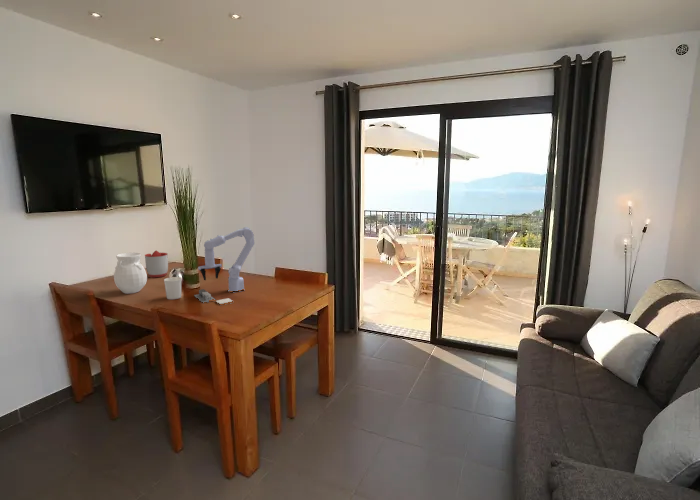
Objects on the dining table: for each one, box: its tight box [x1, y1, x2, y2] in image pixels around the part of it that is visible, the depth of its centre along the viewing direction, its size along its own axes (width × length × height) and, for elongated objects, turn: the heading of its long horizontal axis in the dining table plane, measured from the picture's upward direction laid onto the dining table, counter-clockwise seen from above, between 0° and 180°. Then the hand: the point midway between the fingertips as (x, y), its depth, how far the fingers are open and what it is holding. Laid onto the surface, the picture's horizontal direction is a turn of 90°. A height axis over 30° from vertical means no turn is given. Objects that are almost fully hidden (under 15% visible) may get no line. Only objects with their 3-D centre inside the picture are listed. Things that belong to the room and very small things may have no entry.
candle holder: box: [163, 276, 182, 300], centre depth 228 cm, size 10×10×12 cm
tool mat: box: [193, 293, 216, 304], centre depth 228 cm, size 8×18×1 cm, turn 39°
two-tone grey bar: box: [198, 288, 212, 301], centre depth 228 cm, size 3×14×4 cm, turn 38°
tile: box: [215, 297, 233, 305], centre depth 221 cm, size 8×2×7 cm
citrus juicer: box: [144, 250, 169, 279], centre depth 278 cm, size 16×17×20 cm
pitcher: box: [113, 252, 148, 295], centre depth 237 cm, size 19×18×25 cm
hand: (210, 279), depth 238 cm, fingers open, 7 cm apart
